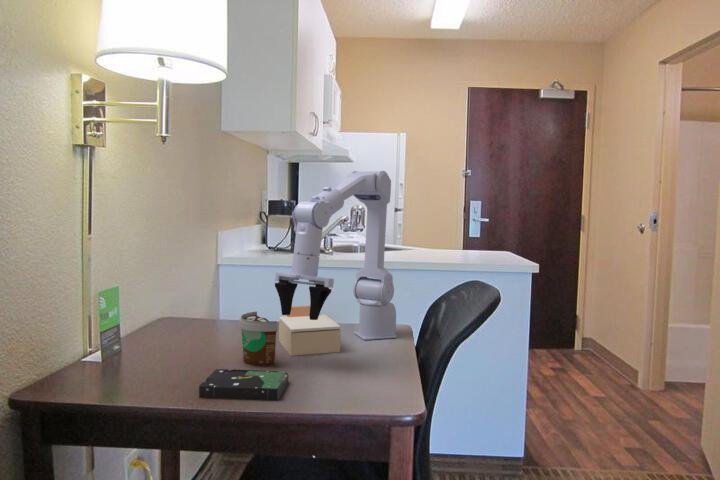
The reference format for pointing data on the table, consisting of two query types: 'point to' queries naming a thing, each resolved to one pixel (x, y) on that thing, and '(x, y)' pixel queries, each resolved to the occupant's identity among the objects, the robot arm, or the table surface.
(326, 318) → the lid
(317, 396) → the table surface
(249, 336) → the food container
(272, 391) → the disk drive
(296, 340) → the mailer box
